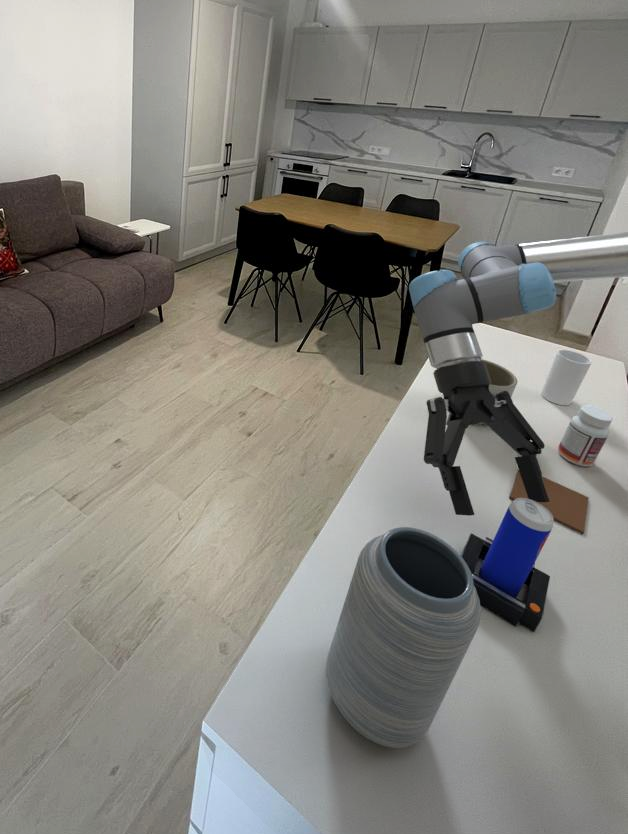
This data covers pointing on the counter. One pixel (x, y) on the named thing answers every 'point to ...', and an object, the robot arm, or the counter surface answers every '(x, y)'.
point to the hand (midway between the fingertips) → (503, 508)
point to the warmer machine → (502, 601)
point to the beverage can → (517, 545)
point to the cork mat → (558, 503)
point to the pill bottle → (585, 435)
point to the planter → (500, 378)
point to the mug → (565, 377)
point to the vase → (401, 635)
